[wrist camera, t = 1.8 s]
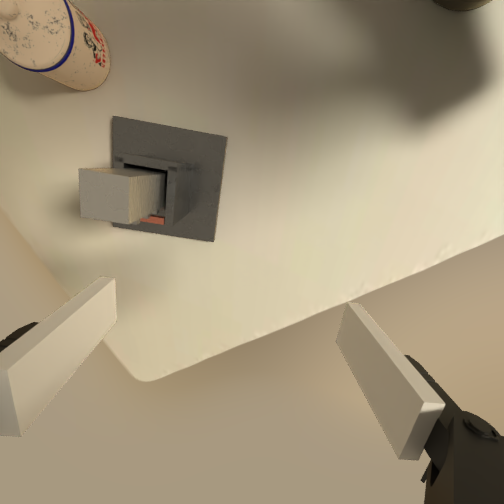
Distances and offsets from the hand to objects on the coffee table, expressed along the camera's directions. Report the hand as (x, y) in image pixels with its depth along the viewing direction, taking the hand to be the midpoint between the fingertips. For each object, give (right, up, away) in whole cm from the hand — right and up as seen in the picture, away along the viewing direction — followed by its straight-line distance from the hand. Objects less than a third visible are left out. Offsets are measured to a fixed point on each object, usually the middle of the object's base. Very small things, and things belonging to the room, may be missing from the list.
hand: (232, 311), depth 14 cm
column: (-12, +14, +24) cm, 30 cm away
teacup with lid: (-23, +31, +19) cm, 43 cm away
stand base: (-12, +14, +25) cm, 31 cm away
